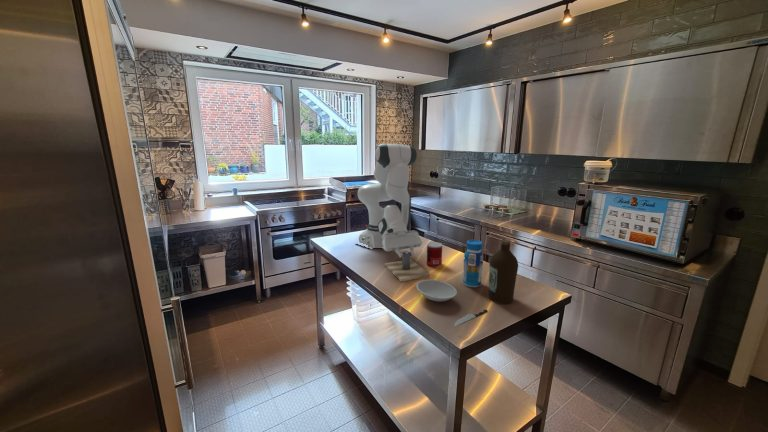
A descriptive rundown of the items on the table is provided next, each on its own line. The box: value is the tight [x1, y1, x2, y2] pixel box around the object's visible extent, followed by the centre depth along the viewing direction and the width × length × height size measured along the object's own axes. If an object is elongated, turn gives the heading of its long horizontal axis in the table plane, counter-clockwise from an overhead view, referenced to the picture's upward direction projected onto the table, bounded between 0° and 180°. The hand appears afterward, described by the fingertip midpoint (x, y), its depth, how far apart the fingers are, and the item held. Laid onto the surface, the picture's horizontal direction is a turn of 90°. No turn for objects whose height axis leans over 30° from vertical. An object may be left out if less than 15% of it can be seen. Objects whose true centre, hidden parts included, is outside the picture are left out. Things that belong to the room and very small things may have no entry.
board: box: [384, 258, 430, 282], centre depth 150 cm, size 20×15×2 cm
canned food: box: [426, 241, 443, 268], centre depth 158 cm, size 8×8×11 cm
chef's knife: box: [453, 309, 488, 327], centre depth 110 cm, size 19×1×3 cm
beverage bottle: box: [462, 239, 484, 288], centre depth 134 cm, size 8×8×20 cm
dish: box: [415, 279, 458, 303], centre depth 122 cm, size 18×14×5 cm
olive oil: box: [488, 239, 519, 305], centre depth 120 cm, size 11×11×25 cm
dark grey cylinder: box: [401, 250, 411, 270], centre depth 149 cm, size 4×4×9 cm
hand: (406, 256), depth 148 cm, fingers open, 4 cm apart
